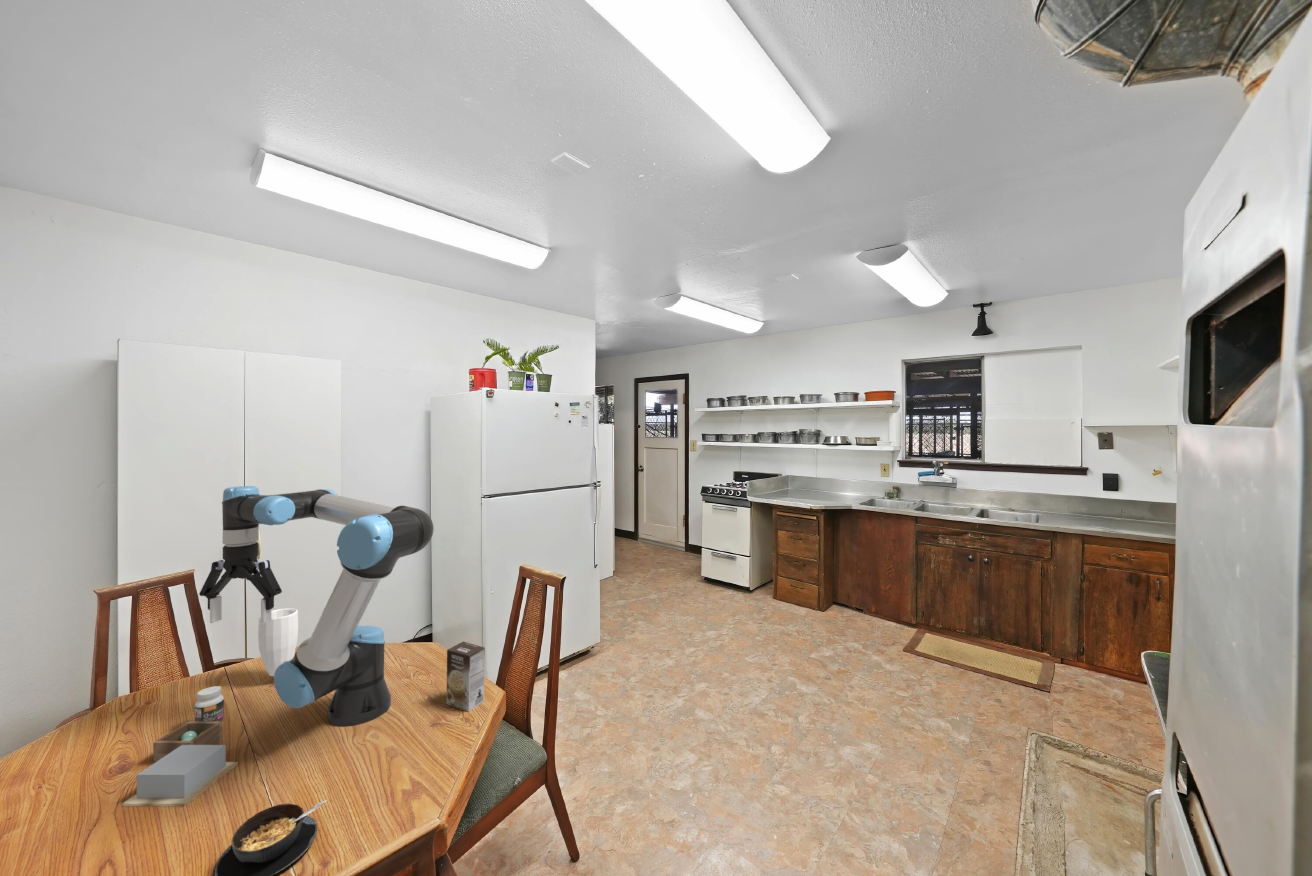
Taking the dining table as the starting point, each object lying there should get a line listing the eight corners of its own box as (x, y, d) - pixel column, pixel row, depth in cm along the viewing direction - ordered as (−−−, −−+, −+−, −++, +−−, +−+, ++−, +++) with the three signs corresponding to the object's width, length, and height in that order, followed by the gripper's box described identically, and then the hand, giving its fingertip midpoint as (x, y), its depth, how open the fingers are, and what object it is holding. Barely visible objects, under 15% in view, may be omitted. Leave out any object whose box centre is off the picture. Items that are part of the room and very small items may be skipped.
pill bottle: (206, 735, 126) (206, 697, 126) (188, 732, 127) (188, 694, 127) (229, 722, 132) (229, 686, 132) (212, 720, 133) (212, 683, 133)
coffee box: (445, 704, 141) (445, 649, 141) (462, 694, 147) (462, 640, 147) (468, 712, 137) (469, 655, 137) (485, 701, 143) (485, 646, 143)
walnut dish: (222, 741, 124) (222, 721, 124) (190, 763, 115) (190, 742, 115) (187, 741, 124) (187, 721, 124) (153, 763, 115) (153, 742, 115)
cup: (282, 690, 148) (282, 619, 148) (248, 690, 149) (248, 619, 148) (307, 674, 159) (307, 607, 159) (275, 673, 159) (275, 607, 159)
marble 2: (191, 753, 119) (200, 740, 121) (184, 748, 117) (194, 734, 120) (179, 753, 119) (188, 740, 121) (172, 748, 117) (182, 734, 120)
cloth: (237, 764, 115) (237, 761, 115) (184, 806, 102) (184, 803, 102) (181, 764, 115) (181, 761, 115) (122, 806, 102) (122, 803, 102)
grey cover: (225, 766, 114) (225, 744, 114) (184, 798, 104) (184, 774, 104) (182, 766, 114) (182, 744, 114) (136, 798, 104) (136, 774, 104)
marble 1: (200, 740, 123) (200, 727, 123) (188, 747, 120) (188, 734, 120) (188, 740, 123) (188, 728, 123) (176, 747, 120) (176, 735, 120)
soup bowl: (263, 821, 99) (263, 784, 99) (340, 823, 98) (340, 786, 98) (190, 889, 84) (190, 846, 84) (281, 893, 84) (281, 849, 83)
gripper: (297, 540, 137) (297, 616, 137) (207, 540, 137) (207, 616, 137) (276, 546, 130) (276, 626, 130) (181, 546, 129) (181, 626, 130)
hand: (241, 621), depth 133 cm, fingers open, 13 cm apart
